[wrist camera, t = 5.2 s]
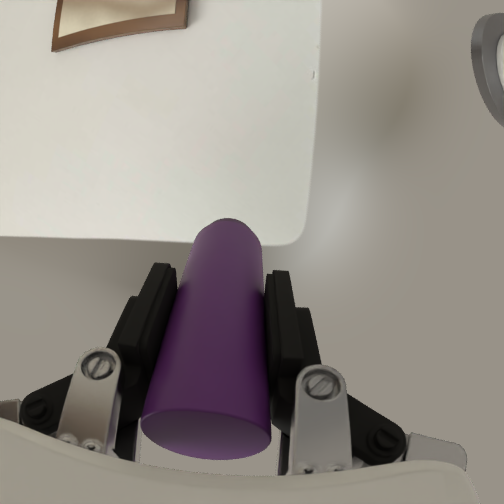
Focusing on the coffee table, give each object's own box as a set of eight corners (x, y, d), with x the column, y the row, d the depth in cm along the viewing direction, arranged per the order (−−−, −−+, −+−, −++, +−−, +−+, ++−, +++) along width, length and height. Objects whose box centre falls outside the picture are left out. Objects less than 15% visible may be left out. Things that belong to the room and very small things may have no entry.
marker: (234, 199, 14) (208, 395, 5) (273, 248, 15) (296, 445, 6) (183, 235, 14) (115, 422, 6) (223, 279, 16) (202, 465, 7)
